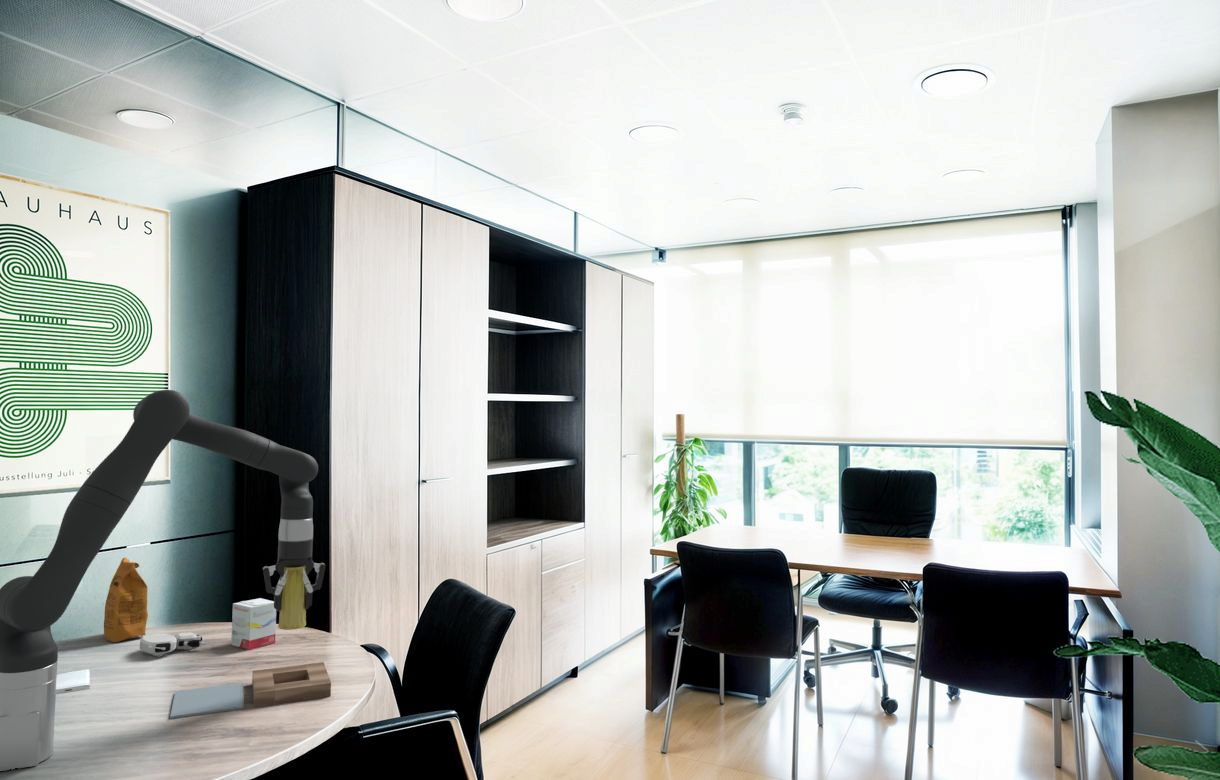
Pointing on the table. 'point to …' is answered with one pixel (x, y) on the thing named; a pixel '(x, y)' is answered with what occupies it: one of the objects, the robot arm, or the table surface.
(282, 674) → the pocket block
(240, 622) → the ink box
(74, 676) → the hard drive
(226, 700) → the mat
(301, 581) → the vase
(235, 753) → the table surface
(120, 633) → the coffee package
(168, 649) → the robot toy
